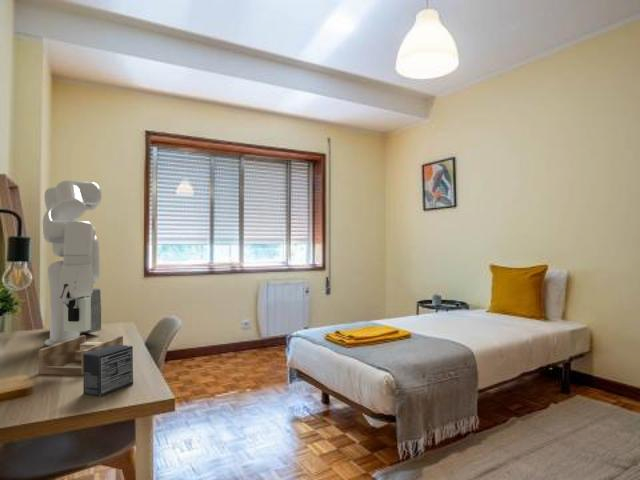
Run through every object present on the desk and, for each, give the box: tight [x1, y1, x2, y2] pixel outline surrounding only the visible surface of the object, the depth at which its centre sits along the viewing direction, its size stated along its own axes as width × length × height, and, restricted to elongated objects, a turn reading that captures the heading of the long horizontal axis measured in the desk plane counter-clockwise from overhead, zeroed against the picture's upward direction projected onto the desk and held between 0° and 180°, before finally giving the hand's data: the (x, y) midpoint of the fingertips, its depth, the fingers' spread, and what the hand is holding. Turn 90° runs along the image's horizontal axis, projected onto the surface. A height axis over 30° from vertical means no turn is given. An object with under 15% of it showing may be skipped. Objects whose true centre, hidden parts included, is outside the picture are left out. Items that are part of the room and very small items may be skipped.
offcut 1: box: [75, 350, 82, 362], centre depth 134 cm, size 4×5×3 cm
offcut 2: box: [80, 341, 104, 352], centre depth 134 cm, size 4×7×2 cm, turn 86°
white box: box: [63, 297, 91, 331], centre depth 125 cm, size 2×7×10 cm, turn 86°
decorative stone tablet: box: [80, 287, 102, 335], centre depth 176 cm, size 19×6×30 cm
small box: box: [82, 344, 134, 398], centre depth 107 cm, size 11×6×10 cm, turn 157°
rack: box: [38, 334, 124, 376], centre depth 128 cm, size 20×14×7 cm
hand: (77, 319), depth 125 cm, fingers closed on white box, 2 cm apart
